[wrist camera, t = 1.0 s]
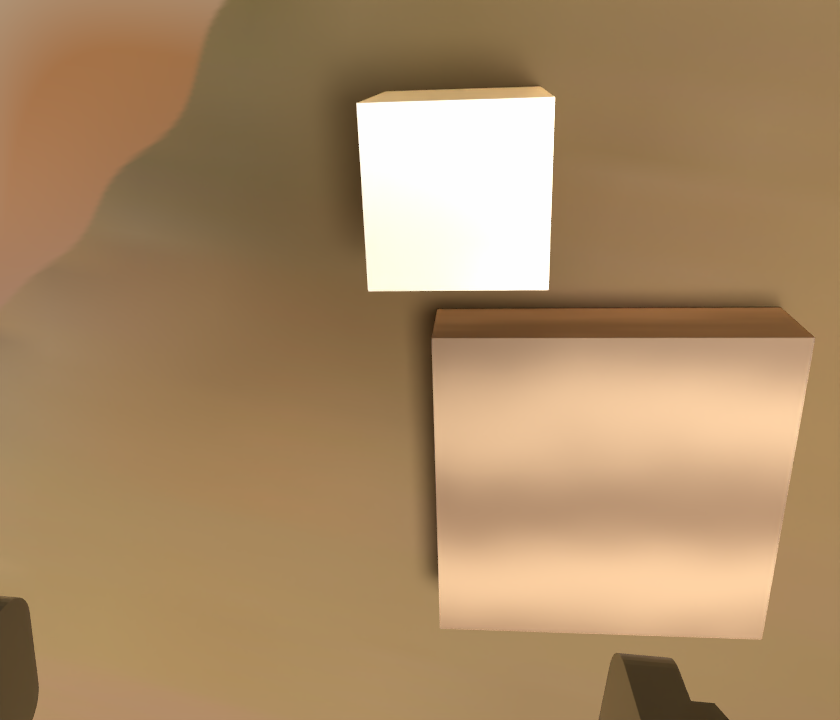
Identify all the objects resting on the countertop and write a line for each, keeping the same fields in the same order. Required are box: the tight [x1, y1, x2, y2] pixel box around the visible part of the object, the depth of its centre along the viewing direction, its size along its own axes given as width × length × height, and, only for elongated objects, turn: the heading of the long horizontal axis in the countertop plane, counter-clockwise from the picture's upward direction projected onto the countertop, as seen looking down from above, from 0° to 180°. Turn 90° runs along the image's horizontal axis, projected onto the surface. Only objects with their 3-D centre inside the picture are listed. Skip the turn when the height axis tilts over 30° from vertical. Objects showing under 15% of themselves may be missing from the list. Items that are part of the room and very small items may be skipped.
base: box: [432, 307, 815, 639], centre depth 28 cm, size 12×12×3 cm
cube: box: [356, 86, 555, 291], centre depth 23 cm, size 5×5×6 cm
